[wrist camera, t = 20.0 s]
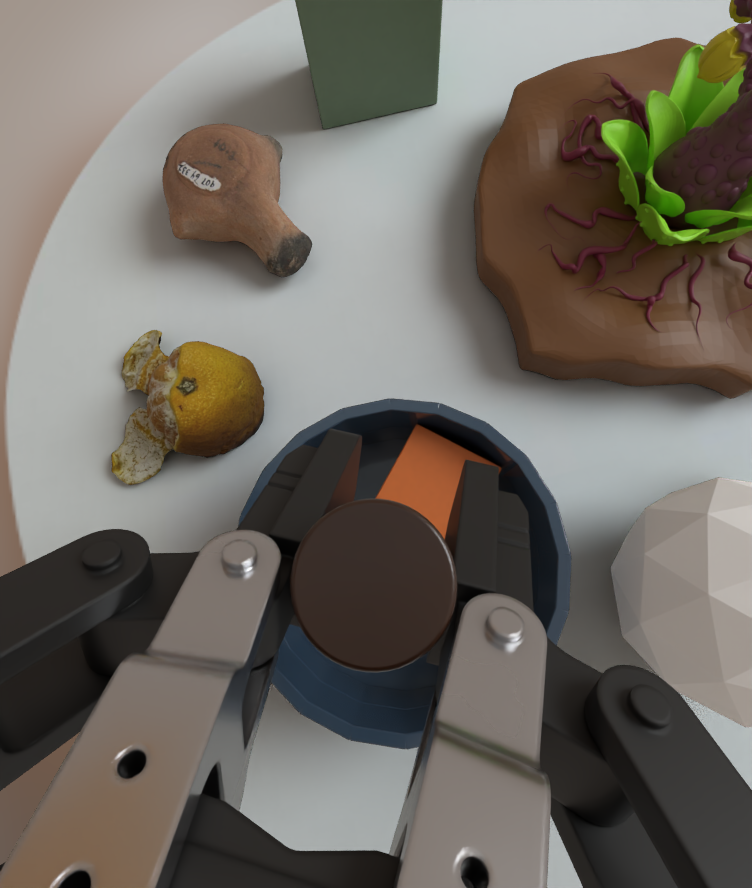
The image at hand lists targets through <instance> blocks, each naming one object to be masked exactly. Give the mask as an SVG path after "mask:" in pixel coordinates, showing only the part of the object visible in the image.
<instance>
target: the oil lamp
mask: <svg viewBox="0 0 752 888" xmlns="http://www.w3.org/2000/svg"><path fill="white" fill-rule="evenodd" d="M281 159H282V147H281V145H280V143H279V142H278V141H276V140H275V139H274V138H273V137H271V136H268V135H264V136H262V135H259V134H257V133H255V132H252V131H250V130H247V129H245V128H242V127H238V126H233V125H229V124H212V125H205V126H201V127H198V128H196V129H193V130H191V131H189V132H187V133H186V134H184V135H183V136H182V137H181V138H180V139H179V140H178V141H177V142H176V143H175V144H174V146H173V147H172V148H171V150H170V151H169V153H168V156H167V158H166V162H165V165H164V168H163V188H164V194H165V198H166V202H167V205H168V208H169V214H170V222H171V226H172V230H173V234H174V236H175V237H177V238H179V239H193V240H198V239H202V240H208V241H215V242H225V241H239V242H242V243H244V244H246V245H247V246H249V247H250V248H251V249H252V250H254V251H255V252H256V253H257V255H258V256H259V257H260V259H261V260H262V261H263V263H264V264H265V266H266V267H267V269H268V271H269V272H270V273H274V274H276V275H278V276H280V277H287V276H290V275H292V274H294V273H296V272H297V271H298V270H299V269H300V268H301V267H302V266H303V265H304V263H305V262H306V260H307V257H308V256H309V253H310V251H311V247H312V242H311V240H310V238H309V237H308V236H307V235H306V234H304V233H303V232H301V231H300V230H299V229H298V228H297V227H296V226H295V225H294V224H293V223H292V222H291V220H290V219H289V218H288V217H287V216H286V214H285V213H284V212H283V211H282V209H281V208H280V206H279V205H278V200H279V196H280V162H281Z"/></svg>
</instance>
